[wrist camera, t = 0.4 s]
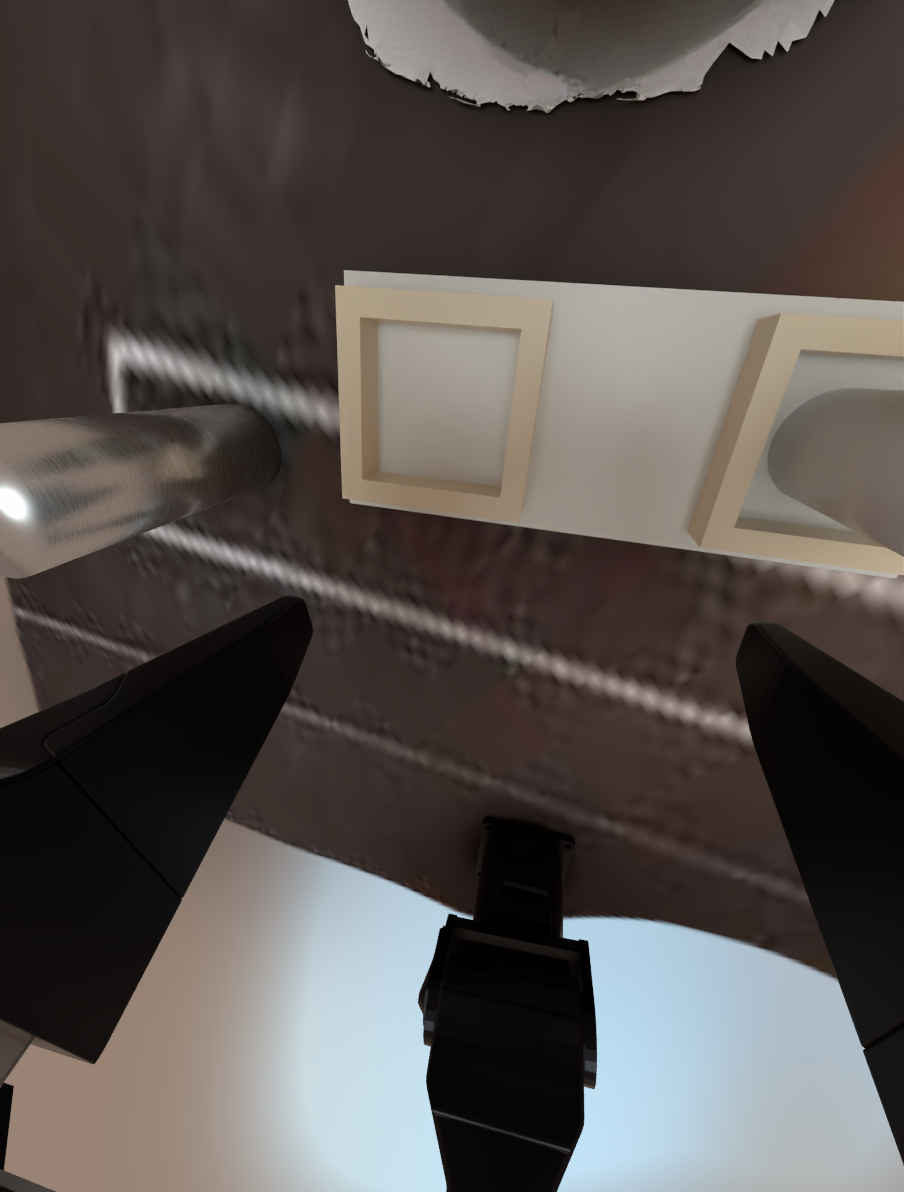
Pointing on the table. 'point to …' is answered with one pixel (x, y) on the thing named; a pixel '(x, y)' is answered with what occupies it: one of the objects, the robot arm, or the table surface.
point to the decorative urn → (572, 43)
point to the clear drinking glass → (121, 477)
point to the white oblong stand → (630, 413)
